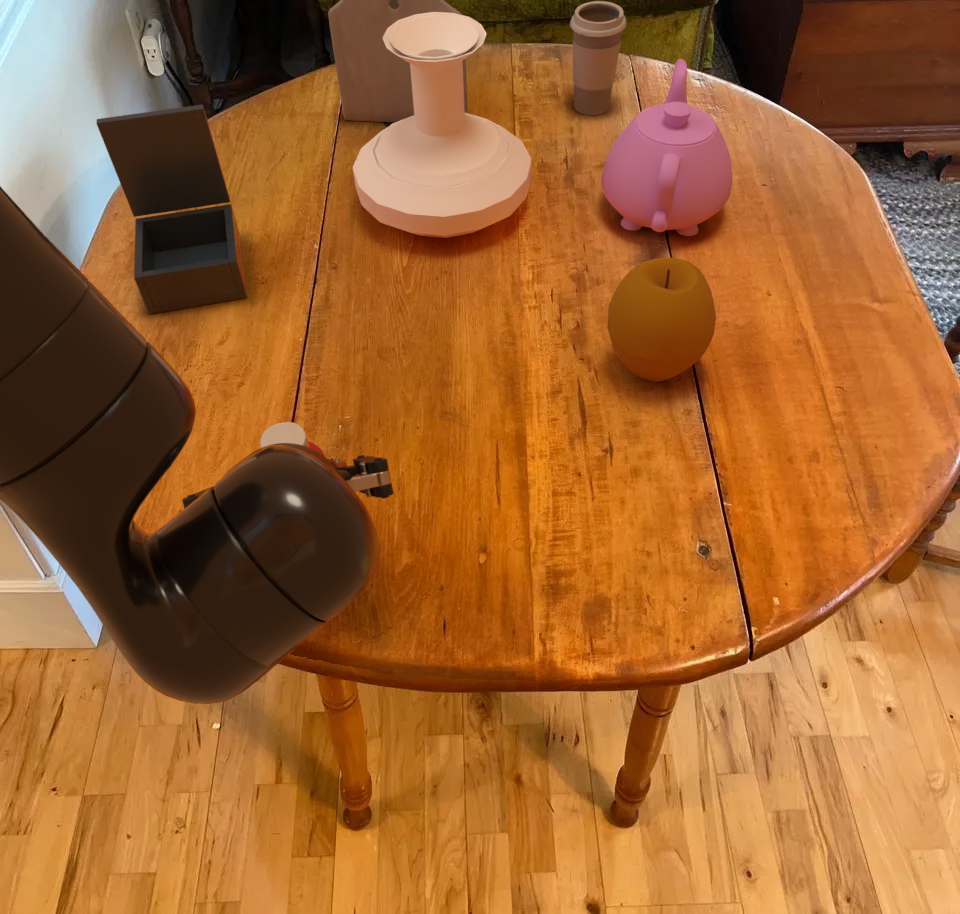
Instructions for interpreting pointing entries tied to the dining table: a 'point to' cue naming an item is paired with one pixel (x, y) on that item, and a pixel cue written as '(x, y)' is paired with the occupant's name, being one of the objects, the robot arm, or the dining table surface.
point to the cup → (595, 54)
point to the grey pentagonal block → (376, 58)
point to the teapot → (669, 165)
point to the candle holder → (440, 141)
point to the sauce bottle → (287, 436)
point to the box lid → (165, 159)
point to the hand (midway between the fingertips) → (298, 480)
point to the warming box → (189, 259)
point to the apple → (661, 318)
